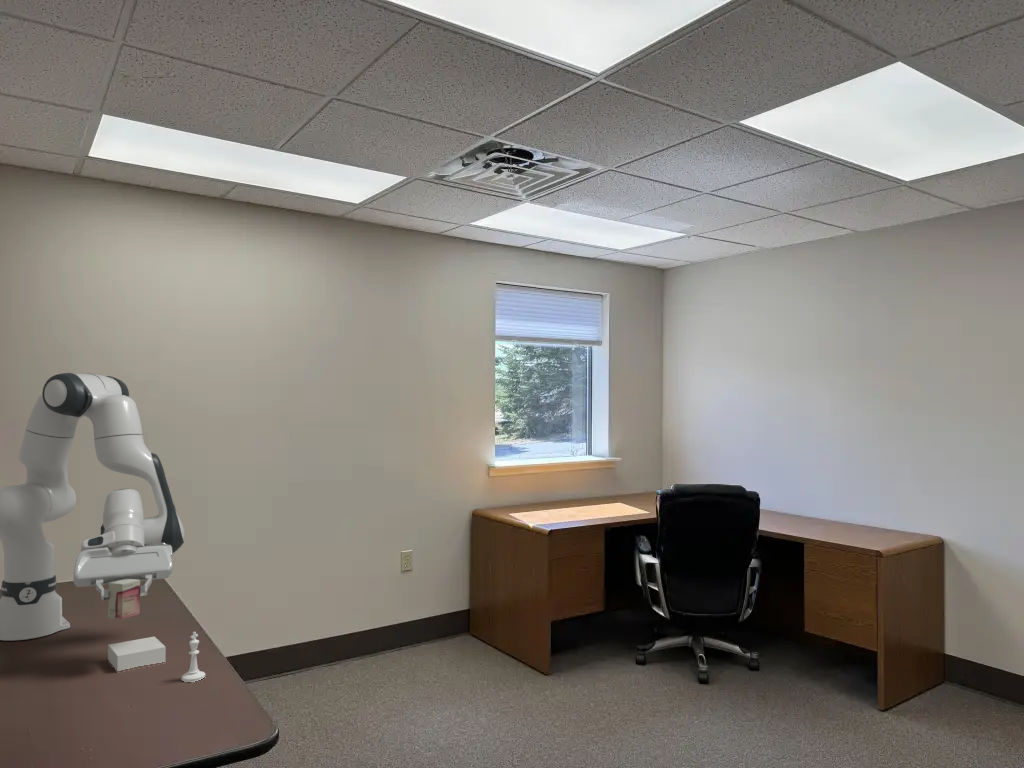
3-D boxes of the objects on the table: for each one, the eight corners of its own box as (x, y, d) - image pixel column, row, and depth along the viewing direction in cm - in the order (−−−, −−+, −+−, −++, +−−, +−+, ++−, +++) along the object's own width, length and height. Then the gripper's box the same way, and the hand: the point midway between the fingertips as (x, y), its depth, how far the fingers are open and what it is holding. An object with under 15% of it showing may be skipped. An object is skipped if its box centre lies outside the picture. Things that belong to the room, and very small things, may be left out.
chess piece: (210, 676, 162) (211, 630, 162) (194, 683, 158) (195, 636, 158) (192, 673, 164) (193, 627, 164) (175, 681, 159) (176, 634, 159)
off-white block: (107, 662, 172) (108, 644, 172) (154, 653, 178) (154, 636, 178) (117, 674, 164) (117, 656, 164) (165, 664, 170) (165, 647, 170)
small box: (121, 620, 163) (122, 584, 164) (107, 618, 165) (108, 582, 165) (140, 614, 168) (141, 579, 168) (126, 612, 170) (127, 577, 170)
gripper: (170, 549, 182) (174, 598, 173) (74, 557, 172) (72, 610, 163) (172, 534, 178) (176, 583, 169) (74, 541, 168) (72, 594, 159)
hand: (124, 596), depth 166 cm, fingers closed on small box, 6 cm apart
